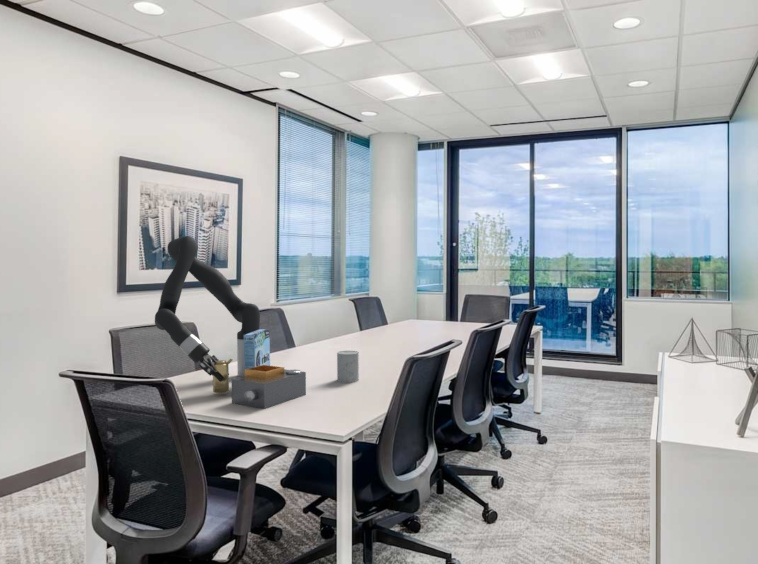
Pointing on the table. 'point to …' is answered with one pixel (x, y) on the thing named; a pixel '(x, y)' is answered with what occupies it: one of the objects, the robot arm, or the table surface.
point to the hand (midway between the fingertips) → (225, 378)
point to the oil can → (224, 370)
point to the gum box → (256, 349)
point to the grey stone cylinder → (347, 366)
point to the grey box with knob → (268, 386)
